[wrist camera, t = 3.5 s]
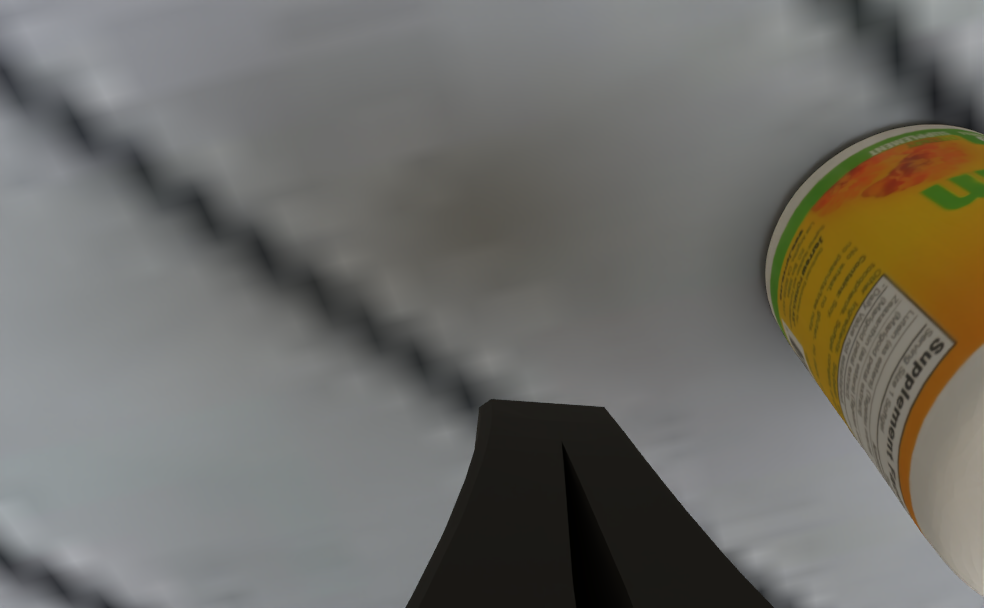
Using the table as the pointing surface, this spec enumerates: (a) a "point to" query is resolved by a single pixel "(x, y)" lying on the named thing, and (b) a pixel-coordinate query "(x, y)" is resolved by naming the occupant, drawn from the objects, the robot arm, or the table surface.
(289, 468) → the table surface
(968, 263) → the supplement bottle
